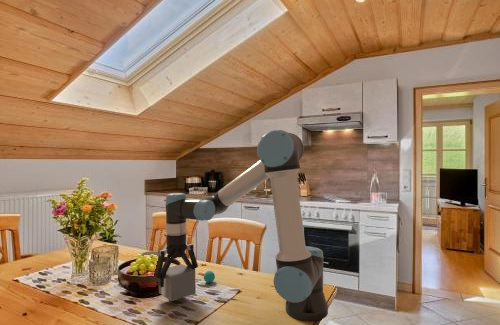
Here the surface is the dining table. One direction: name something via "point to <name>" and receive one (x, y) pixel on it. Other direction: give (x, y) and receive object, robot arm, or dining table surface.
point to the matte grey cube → (179, 282)
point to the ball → (209, 276)
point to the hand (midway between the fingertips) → (177, 290)
